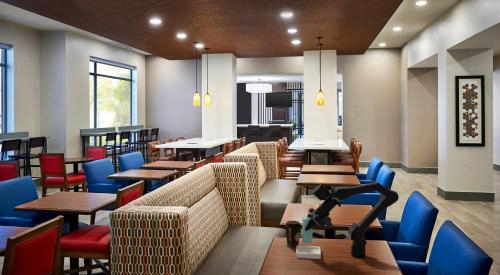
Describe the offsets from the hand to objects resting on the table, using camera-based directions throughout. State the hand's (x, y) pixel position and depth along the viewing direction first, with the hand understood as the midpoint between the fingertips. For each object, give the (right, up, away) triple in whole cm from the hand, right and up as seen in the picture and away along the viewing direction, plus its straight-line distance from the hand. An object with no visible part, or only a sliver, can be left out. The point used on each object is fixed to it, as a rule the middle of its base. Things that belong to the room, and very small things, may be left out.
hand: (304, 229), depth 202 cm
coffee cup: (-4, -13, +15) cm, 20 cm away
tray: (+2, -13, +2) cm, 13 cm away
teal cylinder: (+1, -7, 0) cm, 7 cm away
